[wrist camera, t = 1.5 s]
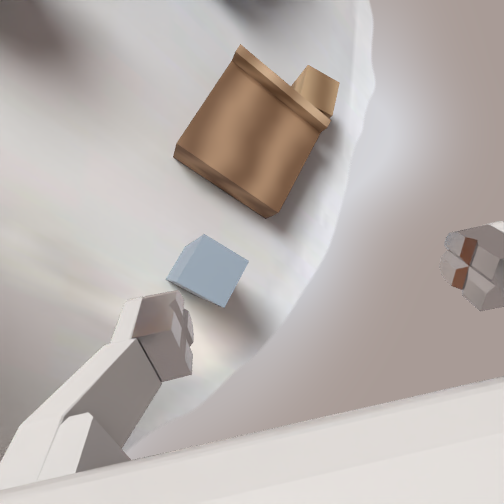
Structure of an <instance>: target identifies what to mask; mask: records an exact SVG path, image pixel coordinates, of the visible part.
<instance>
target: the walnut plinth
mask: <svg viewBox="0 0 504 504" xmlns="http://www.w3.org/2000/svg"><path fill="white" fill-rule="evenodd" d="M330 121H331V120H330V119H329V118H328V117H326V116H325V115H324V114H323V113H322V112H320V111H319V110H318V109H317V108H316V107H314V106H313V105H312V104H311V103H310V102H309V101H307V100H306V99H305V98H304V97H303V96H301V95H300V94H299V93H298V92H297V91H295V90H294V89H293V88H292V87H291V86H289V85H288V84H287V83H286V82H285V81H284V80H282V79H281V78H280V77H279V76H278V75H276V74H275V73H274V72H273V71H272V70H270V69H269V68H268V67H267V66H266V65H264V64H263V63H262V62H261V61H260V60H259V59H257V58H256V57H255V56H254V55H253V54H251V53H250V52H249V51H248V50H247V49H245V48H244V47H243V46H242V45H241V44H240V46H239V47H238V49H237V50H236V52H235V54H234V57H233V59H232V61H231V63H230V64H229V66H228V67H227V69H226V70H225V72H224V73H223V75H222V76H221V78H220V79H219V81H218V82H217V84H216V85H215V87H214V88H213V90H212V91H211V93H210V94H209V96H208V97H207V99H206V100H205V102H204V103H203V105H202V106H201V108H200V109H199V111H198V112H197V114H196V115H195V117H194V118H193V120H192V121H191V123H190V124H189V126H188V127H187V129H186V130H185V131H184V133H183V134H182V136H181V137H180V139H179V140H178V142H177V144H176V148H175V152H174V156H173V157H174V158H175V159H177V160H178V161H180V162H181V163H183V164H184V165H186V166H187V167H189V168H190V169H192V170H193V171H195V172H196V173H198V174H199V175H201V176H202V177H204V178H205V179H207V180H208V181H210V182H211V183H213V184H214V185H216V186H217V187H219V188H220V189H222V190H223V191H225V192H226V193H228V194H229V195H231V196H232V197H234V198H235V199H237V200H238V201H240V202H241V203H243V204H244V205H246V206H247V207H249V208H250V209H252V210H253V211H255V212H256V213H258V214H259V215H261V216H262V217H264V218H265V219H266V218H268V217H271V216H273V215H275V214H277V213H279V211H280V209H281V207H282V205H283V203H284V201H285V200H286V198H287V196H288V194H289V192H290V190H291V188H292V186H293V184H294V182H295V181H296V179H297V177H298V175H299V173H300V171H301V169H302V167H303V165H304V163H305V162H306V160H307V158H308V156H309V154H310V152H311V150H312V148H313V146H314V144H315V143H316V141H317V139H318V137H319V135H320V133H321V132H322V131H324V130H325V129H326V128H327V127H328V125H329V123H330Z"/></svg>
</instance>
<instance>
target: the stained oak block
mask: <svg viewBox="0 0 504 504" xmlns="http://www.w3.org/2000/svg"><path fill="white" fill-rule="evenodd" d="M291 87H292V88H293V89H294V90H295V91H297V92H298V93H299V94H300V95H301V96H303V97H304V98H305V99H306V100H307V101H309V102H310V103H311V104H312V105H313V106H314V107H316V108H317V109H318V110H319V111H320V112H322V113H323V114H324V115H325V116H326V117H328V118H330V117H331V116H332V115H333V110H334V106H335V101H336V97H337V92H338V87H339V82H337V81H336V80H334V79H332V78H330V77H329V76H327V75H325V74H323V73H321V72H320V71H318V70H316V69H314V68H313V67H311V66H309V65H307V67H306V68H305V69H304V71H303V72H302V73H301V74H300V76H299V77H298V78H297V80H296V81H295V82H294V83H293V85H292V86H291Z"/></svg>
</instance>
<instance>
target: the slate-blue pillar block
mask: <svg viewBox="0 0 504 504" xmlns="http://www.w3.org/2000/svg"><path fill="white" fill-rule="evenodd" d="M248 262H249V261H248V260H246V259H245V258H243V257H241V256H240V255H238V254H236V253H235V252H233V251H231V250H230V249H228V248H226V247H225V246H223V245H221V244H220V243H218V242H216V241H215V240H213V239H212V238H210V237H208V236H207V235H205V234H204V235H202V236H201V237H199V238H198V239H196V240H195V241H193V242H192V243H190V244H189V245H187V246H185V248H184V250H183V251H182V253H181V255H180V256H179V258H178V260H177V261H176V263H175V265H174V266H173V268H172V270H171V271H170V273H169V275H168V276H167V278H166V280H168V281H170V282H172V283H174V284H176V285H177V286H179V287H181V288H183V289H185V290H187V291H189V292H191V293H192V294H194V295H196V296H198V297H200V298H202V299H205V300H207V301H209V302H212V303H214V304H216V305H219V306H221V307H223V308H225V306H226V304H227V302H228V300H229V298H230V296H231V294H232V292H233V291H234V289H235V287H236V285H237V283H238V281H239V279H240V277H241V275H242V274H243V272H244V270H245V268H246V266H247V264H248Z"/></svg>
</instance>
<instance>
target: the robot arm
mask: <svg viewBox="0 0 504 504" xmlns="http://www.w3.org/2000/svg"><path fill="white" fill-rule="evenodd" d="M444 246H445V247H446V248H447V251H446V252H445V253H444V254H443V256H442V257H441V261H440V270H441V274H442V276H443V277H444V279H445V281H447V282H448V283H449V284H450V285H451V286H453V287H456V288H458V289H461V290H462V295H463V297H465V298H466V299H467V300H468V301H469V302H470V303H471V304H472V305H474V306H475V307H476V308H477V309H478V310H479V311H483V310H489V309H494V308H500V307H504V221H498V222H494V223H489V224H486V225H482V226H479V227H474V228H470V229H465V230H460V231H456V232H451V233H449V234H448V236H447V237H446V239H445V244H444ZM193 335H194V334H193V325H192V321H191V317H190V314H189V311H187V310H186V309H184V299H183V296H182V294H181V292H180V291H179V290H175V291H170V292H165V293H160V294H154V295H149V296H145V297H139V298H134V299H130V300H127V301H126V302H125V303H124V305H123V308H122V311H121V314H120V316H119V319H118V322H117V325H116V328H115V331H114V333H113V336H112V339H111V342H110V344H107V345H104V346H103V347H102V348H101V349H100V350H99V351H98V352H96V353H95V354H94V355H93V356H92V357H91V358H90V359H89V360H88V361H87V362H86V363H85V364H84V365H83V366H82V367H81V368H80V369H79V370H78V371H77V372H75V373H74V374H73V375H72V376H71V377H70V378H69V379H68V380H67V381H66V382H65V383H64V384H63V385H62V386H61V387H60V388H59V389H58V390H57V391H56V392H54V393H53V394H52V395H51V396H50V397H49V398H48V399H47V400H46V401H45V402H44V403H43V404H42V405H41V406H40V407H39V408H38V409H37V410H36V411H35V412H33V413H32V414H31V415H30V416H29V417H28V418H27V419H26V420H25V421H24V422H23V423H22V424H21V425H20V426H19V428H18V430H17V432H16V434H15V436H14V437H13V439H12V441H11V443H10V445H9V447H8V449H7V451H6V453H5V455H4V456H3V458H2V460H1V462H0V504H504V376H502V377H497V378H493V379H488V380H484V381H479V382H475V383H471V384H466V385H462V386H457V387H453V388H449V389H444V390H440V391H435V392H432V393H427V394H422V395H418V396H413V397H409V398H404V399H400V400H396V401H392V402H387V403H382V404H378V405H374V406H369V407H365V408H361V409H357V410H352V411H347V412H343V413H338V414H334V415H330V416H325V417H321V418H316V419H312V420H307V421H303V422H299V423H294V424H290V425H286V426H281V427H277V428H272V429H268V430H263V431H259V432H254V433H250V434H246V435H241V436H237V437H233V438H228V439H223V440H219V441H215V442H210V443H206V444H201V445H197V446H193V447H188V448H184V449H179V450H175V451H171V452H166V453H162V454H157V455H153V456H148V457H144V458H139V459H135V460H131V459H130V458H129V457H128V456H127V455H126V454H125V452H124V451H123V450H122V447H123V446H124V444H125V442H126V441H127V439H128V438H129V436H130V434H131V433H132V431H133V430H134V428H135V426H136V425H137V423H138V422H139V420H140V418H141V417H142V415H143V413H144V412H145V410H146V409H147V407H148V405H149V404H150V402H151V401H152V399H153V397H154V396H155V394H156V393H157V391H158V389H159V388H160V386H161V384H162V383H161V382H164V381H168V380H172V379H176V378H180V377H184V376H188V375H192V359H193V354H192V351H191V349H190V346H191V344H192V343H193Z"/></svg>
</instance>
